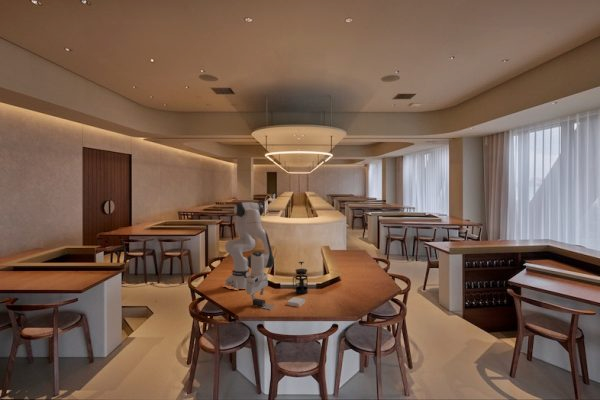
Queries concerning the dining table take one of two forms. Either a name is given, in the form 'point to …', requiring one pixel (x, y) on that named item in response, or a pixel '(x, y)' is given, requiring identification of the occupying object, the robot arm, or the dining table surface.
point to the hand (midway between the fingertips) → (257, 296)
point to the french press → (301, 281)
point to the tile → (296, 302)
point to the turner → (262, 304)
